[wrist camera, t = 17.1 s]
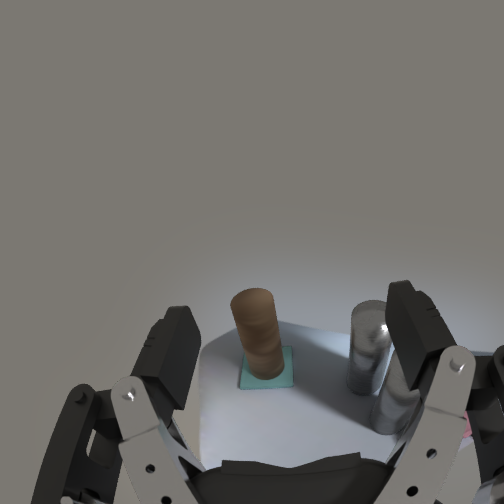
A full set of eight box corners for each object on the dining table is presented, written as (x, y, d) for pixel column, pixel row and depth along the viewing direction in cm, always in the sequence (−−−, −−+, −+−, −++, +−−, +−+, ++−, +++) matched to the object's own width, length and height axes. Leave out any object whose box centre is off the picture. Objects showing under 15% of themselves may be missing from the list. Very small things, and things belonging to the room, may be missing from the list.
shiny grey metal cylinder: (401, 398, 26) (429, 335, 21) (410, 429, 22) (447, 373, 17) (366, 406, 27) (385, 345, 21) (372, 439, 23) (399, 387, 17)
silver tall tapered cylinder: (374, 362, 33) (384, 295, 27) (387, 387, 28) (404, 322, 23) (342, 372, 33) (345, 307, 27) (353, 399, 28) (362, 337, 23)
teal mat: (291, 348, 38) (291, 345, 38) (293, 386, 32) (293, 384, 32) (245, 351, 39) (244, 349, 39) (240, 389, 33) (239, 387, 33)
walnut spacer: (284, 352, 37) (273, 285, 32) (285, 378, 33) (273, 313, 27) (251, 355, 38) (232, 290, 32) (249, 381, 34) (227, 317, 28)
